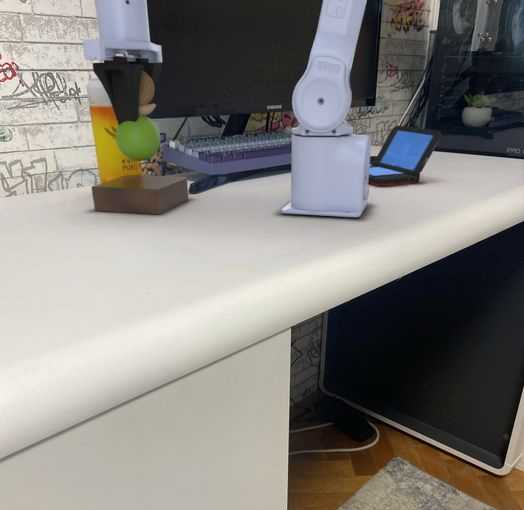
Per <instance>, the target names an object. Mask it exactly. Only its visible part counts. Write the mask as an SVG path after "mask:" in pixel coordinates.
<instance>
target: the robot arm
mask: <svg viewBox="0 0 524 510" xmlns="http://www.w3.org/2000/svg"><path fill="white" fill-rule="evenodd" d="M147 1H148V0H94V7H95V13H96V21H97V29H98V37H99V38H88V39H87V38H86V39H84V38H83V39H82V45H83V52H84V60H85V61H100V60H101V61H103V62H92V64H91V65H92V71H93V73H94V74H95V76H96V78H98V79H99V80H100V82H101V83H102V85H103V87H104V89H105V91H106V93H107V95H108V97H109V99H110V102H111V104H112V107H113V110H114V113H115V116H116V118H117V121H118V124H119V125H120V124H121V123H123V122H125V121H133V122H136V121H137V119H138V118H139V108H138V95H139V85H140V79H141V75H142V71H145V72H146V73H147V74H148V75H149V76H150V77H151V79H152V81H153V84H154V90H155V88H156V86H157V85H156V84H157V82H158V79H159V77H160V75H161V72H162V63H163V53H162V45H159V44H156V43H153V42H151V37H150V36H151V35H150V34H151V33H150V25H149V16H148V15H149V14H148V3H147ZM367 1H368V0H322V5H321V9H320V13H319V19H318V24H317V27H316V28H317V29H316V34H315V37H314V40H313V42H312V43H313V44H312V46H311V50H310V54H309V58H308V63H307V67H306V69H305V71H304V73H303V75H302V76H301V78H300V79H299V80H298V82H297V83H296V84H295V87H294V89H293V91H292V98H291V106H292V111H293V114H294V116H295V119H296V120H297V122H298V123H299V124H298V125H297V126H296V127H293V128H291V133H292V134H291V165H290V166H291V168H290V169H291V173H290V182H291V183H290V201H289V203H287V204H286V205H285V206H284V207H283V208H281V210H280V211H281V214H287V215H288V214H289V215H304V216H305V215H306V216H307V215H308V216H322V217H323V216H324V217H341V218H343V217H344V218H360V217H361V215H363V212H364V210H365V209H366V207H367V205H368V200H369V194H370V185H369V183H368V180H369V167H370V165H371V153H372V152H371V151H372V149H371V148H372V142H371V141H372V139H371V135H368V134H356V133H354V126H353V125H350V124H349V123H348V121H347V120H346V118H347V116H348V113H349V111H350V108H351V106H352V105H351V104H352V101H353V100H352V98H353V95H352V89H351V82H350V78H351V77H350V76H351V71H352V66H353V62H354V58H355V52H356V49H357V48H356V47H357V43H358V39H359V36H360V31H361V27H362V23H363V19H364V14H365V11H366V5H367ZM148 104H153V99H152V100H151V101H150V102H149V103H148ZM145 116H147V117H148V118H150V119H151V113H150V114H148V115H145Z"/></svg>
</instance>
